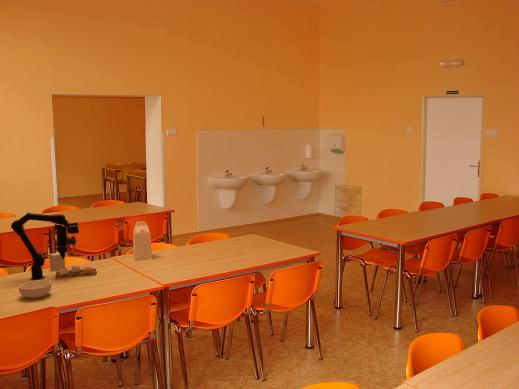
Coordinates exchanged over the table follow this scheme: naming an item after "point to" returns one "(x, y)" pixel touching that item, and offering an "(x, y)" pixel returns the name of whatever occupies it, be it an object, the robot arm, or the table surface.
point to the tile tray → (75, 274)
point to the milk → (141, 242)
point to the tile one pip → (64, 271)
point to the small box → (56, 261)
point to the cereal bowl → (35, 288)
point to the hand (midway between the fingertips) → (63, 258)
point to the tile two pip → (75, 269)
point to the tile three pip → (87, 269)
